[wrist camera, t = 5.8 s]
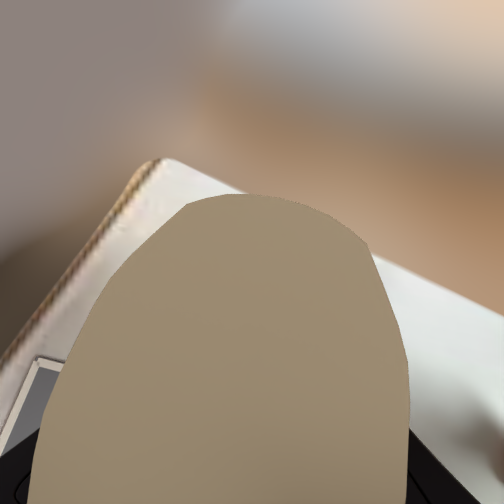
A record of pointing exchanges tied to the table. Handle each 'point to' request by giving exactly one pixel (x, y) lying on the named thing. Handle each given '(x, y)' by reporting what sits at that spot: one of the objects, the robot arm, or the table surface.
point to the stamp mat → (30, 402)
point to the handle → (233, 370)
